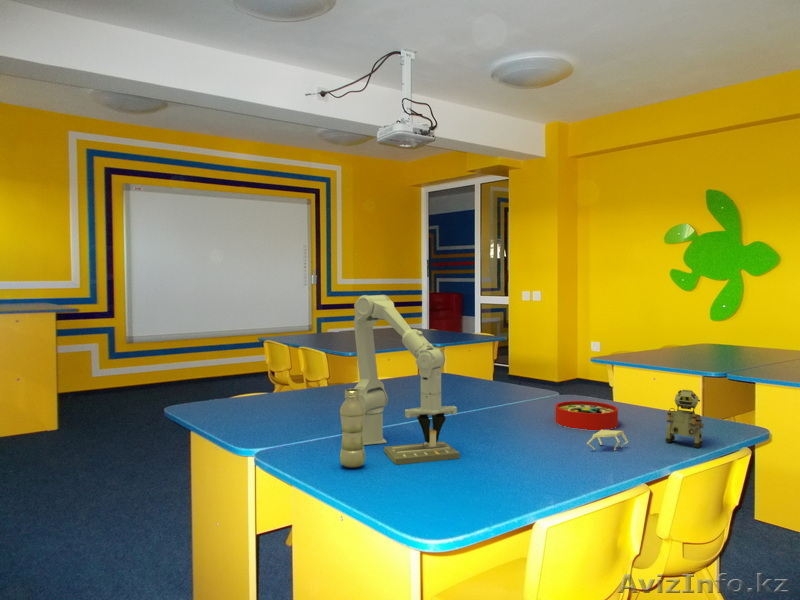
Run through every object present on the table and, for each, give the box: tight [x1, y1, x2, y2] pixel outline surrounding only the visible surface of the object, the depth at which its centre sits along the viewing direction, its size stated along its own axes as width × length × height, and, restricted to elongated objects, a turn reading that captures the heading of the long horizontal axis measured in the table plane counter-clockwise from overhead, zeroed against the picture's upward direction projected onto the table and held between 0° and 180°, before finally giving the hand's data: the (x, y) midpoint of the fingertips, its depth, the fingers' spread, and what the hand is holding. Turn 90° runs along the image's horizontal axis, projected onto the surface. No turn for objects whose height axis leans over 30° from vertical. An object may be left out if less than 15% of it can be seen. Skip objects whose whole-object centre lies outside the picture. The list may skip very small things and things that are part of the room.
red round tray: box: [554, 400, 619, 430], centre depth 193 cm, size 20×6×20 cm
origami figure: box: [586, 429, 629, 451], centre depth 163 cm, size 12×8×5 cm
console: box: [383, 440, 461, 466], centre depth 158 cm, size 18×12×2 cm, turn 106°
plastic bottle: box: [339, 388, 366, 469], centre depth 149 cm, size 6×7×20 cm
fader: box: [423, 427, 440, 449], centre depth 159 cm, size 4×4×5 cm
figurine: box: [665, 389, 705, 449], centre depth 168 cm, size 9×12×15 cm
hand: (431, 441), depth 159 cm, fingers closed on fader, 2 cm apart
